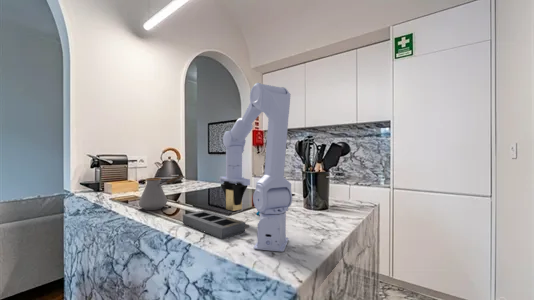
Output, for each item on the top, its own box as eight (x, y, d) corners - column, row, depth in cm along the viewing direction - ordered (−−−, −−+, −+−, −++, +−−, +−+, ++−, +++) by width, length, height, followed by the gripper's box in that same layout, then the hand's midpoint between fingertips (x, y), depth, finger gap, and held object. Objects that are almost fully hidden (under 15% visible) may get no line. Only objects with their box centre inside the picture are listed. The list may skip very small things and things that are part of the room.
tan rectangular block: (241, 209, 90) (242, 189, 90) (233, 210, 87) (233, 190, 87) (234, 207, 93) (234, 188, 93) (225, 209, 90) (226, 189, 90)
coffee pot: (132, 209, 106) (132, 174, 106) (152, 204, 117) (152, 172, 117) (174, 214, 99) (174, 176, 99) (191, 208, 110) (192, 173, 110)
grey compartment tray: (245, 231, 79) (245, 222, 79) (221, 239, 72) (222, 228, 72) (205, 218, 94) (205, 210, 94) (182, 223, 87) (182, 214, 87)
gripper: (256, 166, 88) (256, 205, 88) (229, 164, 98) (229, 199, 98) (241, 167, 83) (240, 208, 83) (214, 165, 92) (214, 202, 92)
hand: (233, 203), depth 90 cm, fingers closed on tan rectangular block, 4 cm apart
